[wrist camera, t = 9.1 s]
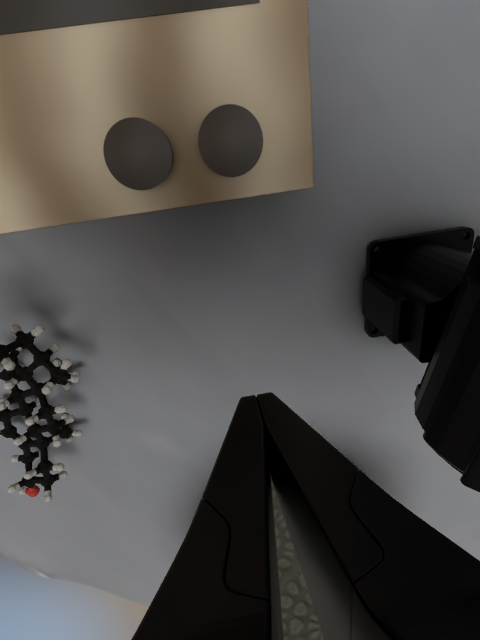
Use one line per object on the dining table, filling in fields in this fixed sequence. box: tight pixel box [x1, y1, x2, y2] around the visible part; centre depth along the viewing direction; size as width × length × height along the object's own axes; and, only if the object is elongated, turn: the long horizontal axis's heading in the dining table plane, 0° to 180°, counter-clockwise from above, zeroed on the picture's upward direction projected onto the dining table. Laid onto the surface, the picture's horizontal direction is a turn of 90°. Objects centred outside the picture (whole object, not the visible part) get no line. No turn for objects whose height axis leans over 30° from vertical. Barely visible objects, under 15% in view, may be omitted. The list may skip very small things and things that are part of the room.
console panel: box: [0, 0, 314, 234], centre depth 14 cm, size 24×16×4 cm, turn 97°
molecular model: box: [0, 324, 82, 502], centre depth 19 cm, size 6×15×8 cm, turn 175°
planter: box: [270, 475, 325, 640], centre depth 24 cm, size 17×17×15 cm
